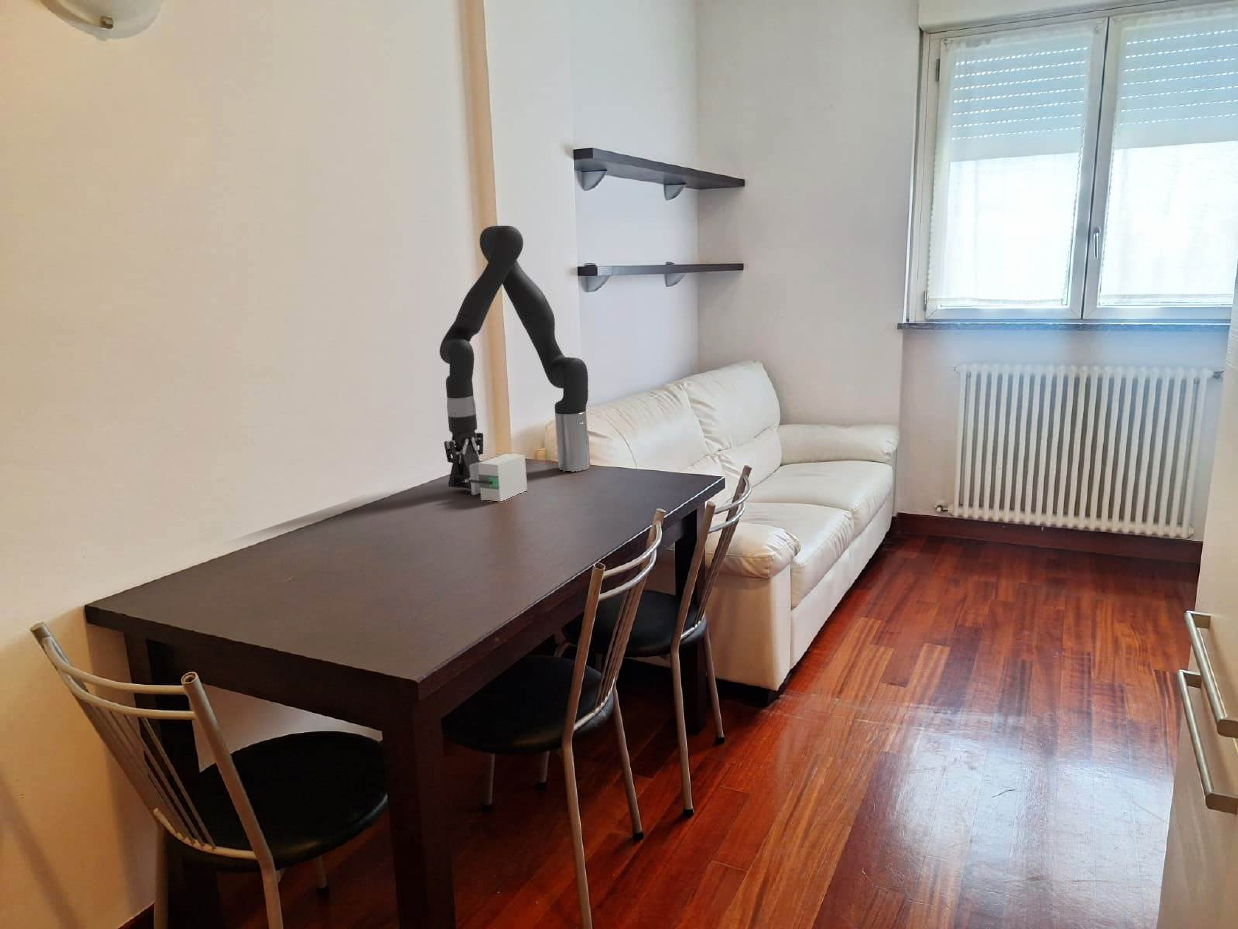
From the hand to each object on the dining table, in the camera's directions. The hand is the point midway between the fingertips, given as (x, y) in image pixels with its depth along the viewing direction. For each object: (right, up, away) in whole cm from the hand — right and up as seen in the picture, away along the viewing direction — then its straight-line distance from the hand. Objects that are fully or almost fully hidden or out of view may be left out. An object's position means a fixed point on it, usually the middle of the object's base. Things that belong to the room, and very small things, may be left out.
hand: (467, 474), depth 229 cm
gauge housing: (+11, -6, -5) cm, 13 cm away
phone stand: (0, -3, +1) cm, 3 cm away
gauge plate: (+8, -5, -5) cm, 10 cm away
